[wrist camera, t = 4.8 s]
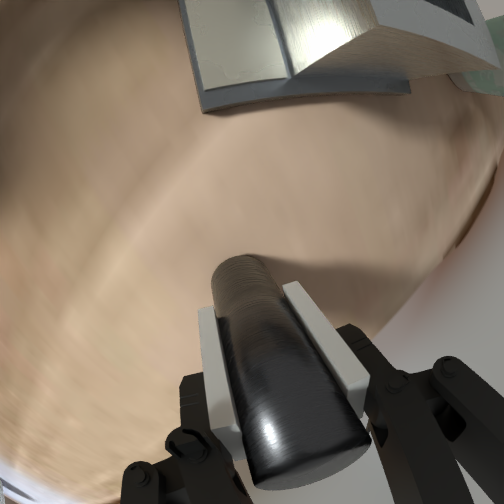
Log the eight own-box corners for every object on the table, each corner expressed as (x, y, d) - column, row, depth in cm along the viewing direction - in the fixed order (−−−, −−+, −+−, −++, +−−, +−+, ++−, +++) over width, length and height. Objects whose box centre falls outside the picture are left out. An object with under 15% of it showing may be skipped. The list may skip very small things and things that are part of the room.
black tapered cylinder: (220, 314, 17) (265, 497, 6) (203, 265, 16) (238, 469, 5) (273, 298, 17) (364, 461, 7) (262, 248, 16) (380, 416, 5)
